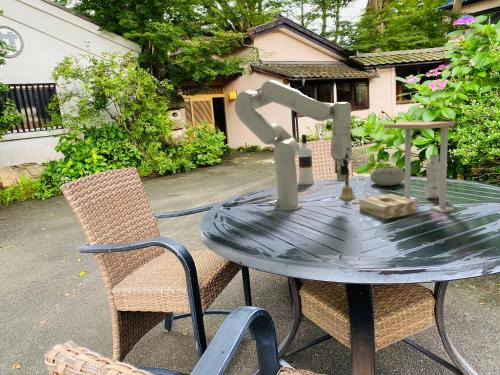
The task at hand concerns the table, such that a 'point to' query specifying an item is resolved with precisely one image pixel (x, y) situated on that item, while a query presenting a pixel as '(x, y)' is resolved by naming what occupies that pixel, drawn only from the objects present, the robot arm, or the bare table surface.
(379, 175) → the grey rounded lump
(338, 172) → the peg
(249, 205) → the table surface
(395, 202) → the socket block
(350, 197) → the hand bell
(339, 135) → the robot arm
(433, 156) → the plastic bottle
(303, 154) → the vodka
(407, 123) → the two-post wooden stand
